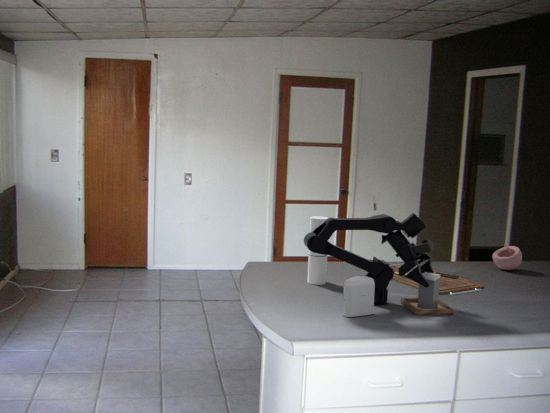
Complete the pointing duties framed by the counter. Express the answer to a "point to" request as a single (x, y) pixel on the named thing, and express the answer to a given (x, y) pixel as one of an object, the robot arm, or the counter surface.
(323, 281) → the cylindrical container
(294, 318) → the counter surface
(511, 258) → the pink round bowl
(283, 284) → the counter surface
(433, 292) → the grey upright rectangular prism
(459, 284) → the chopping board
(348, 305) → the white tombstone-shaped block
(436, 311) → the walnut tray
